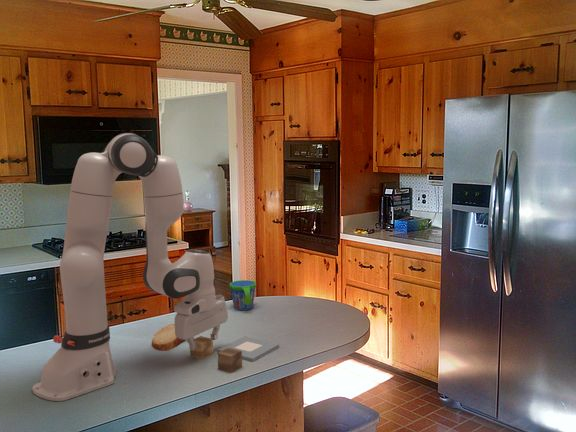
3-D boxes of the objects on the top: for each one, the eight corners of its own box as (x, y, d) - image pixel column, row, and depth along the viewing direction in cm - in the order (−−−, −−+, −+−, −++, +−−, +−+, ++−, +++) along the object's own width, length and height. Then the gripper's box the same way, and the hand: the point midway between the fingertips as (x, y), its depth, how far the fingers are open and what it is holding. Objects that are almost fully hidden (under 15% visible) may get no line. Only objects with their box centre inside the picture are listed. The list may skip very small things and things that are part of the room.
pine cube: (202, 359, 171) (201, 343, 170) (190, 356, 174) (189, 340, 173) (213, 354, 175) (212, 338, 174) (201, 351, 178) (200, 336, 177)
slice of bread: (158, 353, 177) (157, 342, 176) (140, 337, 192) (140, 326, 192) (210, 342, 186) (210, 331, 186) (189, 327, 201) (189, 317, 201)
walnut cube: (231, 373, 161) (230, 356, 160) (218, 369, 164) (217, 352, 163) (242, 367, 165) (241, 350, 164) (229, 363, 168) (228, 347, 167)
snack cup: (228, 303, 228) (227, 279, 227) (253, 301, 231) (252, 277, 229) (232, 315, 213) (231, 289, 212) (259, 312, 215) (259, 287, 214)
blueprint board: (252, 361, 168) (252, 358, 168) (217, 352, 176) (217, 349, 176) (279, 347, 180) (279, 343, 180) (245, 339, 188) (244, 335, 187)
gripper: (216, 291, 182) (218, 332, 184) (169, 308, 165) (173, 353, 167) (231, 293, 178) (233, 335, 180) (185, 311, 162) (188, 357, 164)
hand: (203, 344), depth 174 cm, fingers open, 8 cm apart
